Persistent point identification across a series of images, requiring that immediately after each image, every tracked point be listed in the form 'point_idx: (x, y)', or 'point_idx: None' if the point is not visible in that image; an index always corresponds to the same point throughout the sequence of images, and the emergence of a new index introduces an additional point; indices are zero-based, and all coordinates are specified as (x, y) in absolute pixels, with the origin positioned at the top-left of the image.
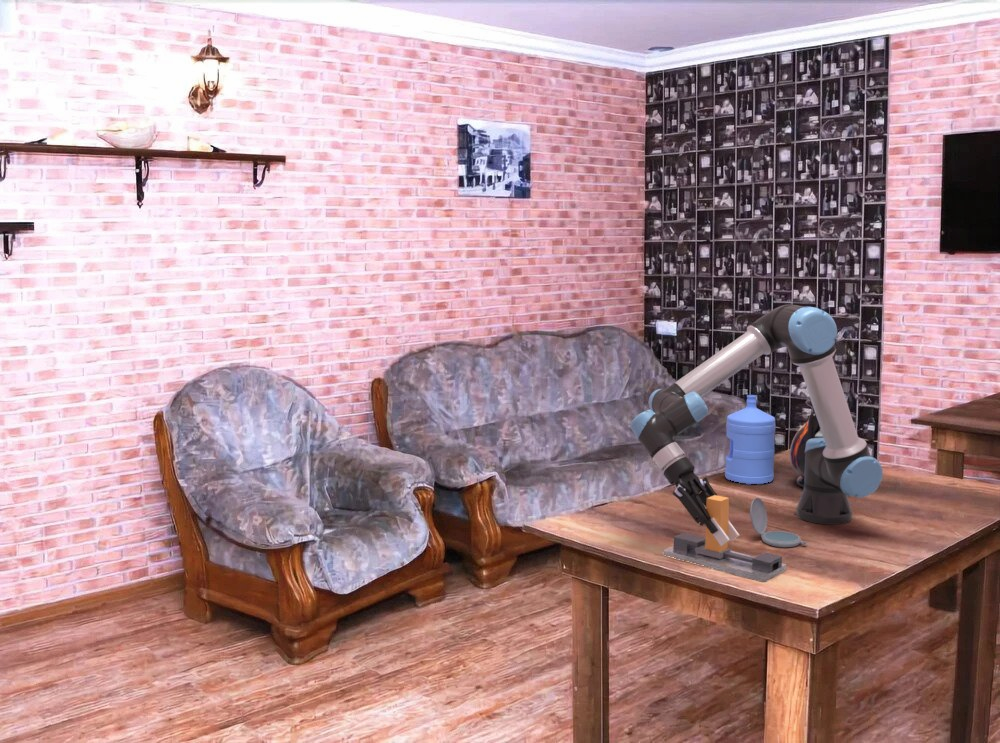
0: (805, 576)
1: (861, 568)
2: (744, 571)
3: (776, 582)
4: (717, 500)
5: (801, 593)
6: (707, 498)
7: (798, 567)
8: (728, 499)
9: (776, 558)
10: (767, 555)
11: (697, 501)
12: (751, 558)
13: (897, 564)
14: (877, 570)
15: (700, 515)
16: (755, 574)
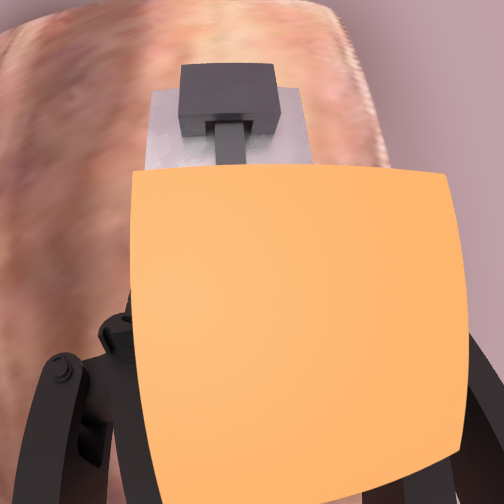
0: (170, 57)
1: (54, 39)
2: (308, 144)
3: None
4: (456, 243)
5: (286, 30)
6: (461, 435)
7: (111, 97)
8: (166, 181)
9: (215, 65)
10: (206, 94)
11: (448, 491)
12: (227, 150)
13: (15, 34)
14: (55, 25)
15: (470, 342)
16: (302, 112)
